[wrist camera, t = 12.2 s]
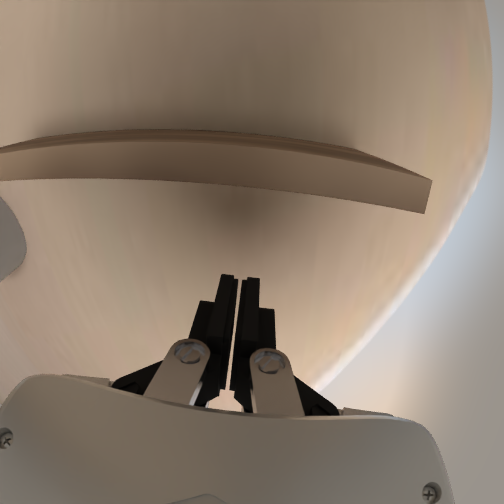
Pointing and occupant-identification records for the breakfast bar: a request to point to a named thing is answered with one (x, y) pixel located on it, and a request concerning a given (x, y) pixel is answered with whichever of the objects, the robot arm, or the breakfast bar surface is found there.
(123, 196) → the breakfast bar surface
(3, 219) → the lumpy-topped squat cylinder
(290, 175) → the wooden panel
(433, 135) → the breakfast bar surface
